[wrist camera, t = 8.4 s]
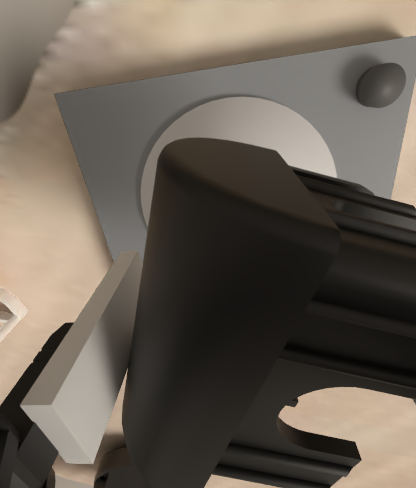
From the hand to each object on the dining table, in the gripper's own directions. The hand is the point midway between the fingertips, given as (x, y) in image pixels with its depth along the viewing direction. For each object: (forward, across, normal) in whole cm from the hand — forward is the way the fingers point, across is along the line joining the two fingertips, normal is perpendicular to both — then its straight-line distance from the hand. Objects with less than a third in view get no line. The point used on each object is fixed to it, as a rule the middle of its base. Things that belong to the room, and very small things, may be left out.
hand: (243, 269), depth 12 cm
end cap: (+1, 0, 0) cm, 1 cm away
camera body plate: (+9, 0, 0) cm, 9 cm away
